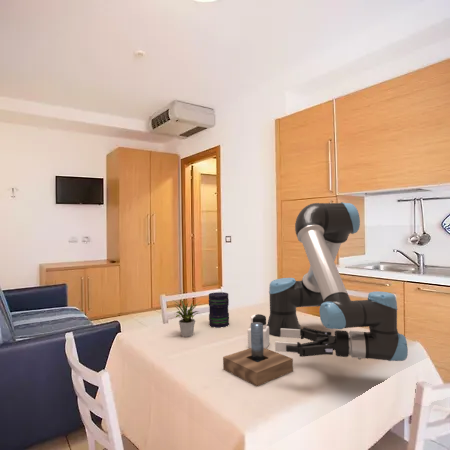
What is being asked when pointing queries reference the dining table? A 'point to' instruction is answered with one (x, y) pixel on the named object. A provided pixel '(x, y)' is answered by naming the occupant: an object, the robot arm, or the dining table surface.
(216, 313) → the storage jar
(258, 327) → the pin
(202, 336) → the dining table surface
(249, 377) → the socket block
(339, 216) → the robot arm
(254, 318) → the medicine bottle
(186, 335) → the house plant
